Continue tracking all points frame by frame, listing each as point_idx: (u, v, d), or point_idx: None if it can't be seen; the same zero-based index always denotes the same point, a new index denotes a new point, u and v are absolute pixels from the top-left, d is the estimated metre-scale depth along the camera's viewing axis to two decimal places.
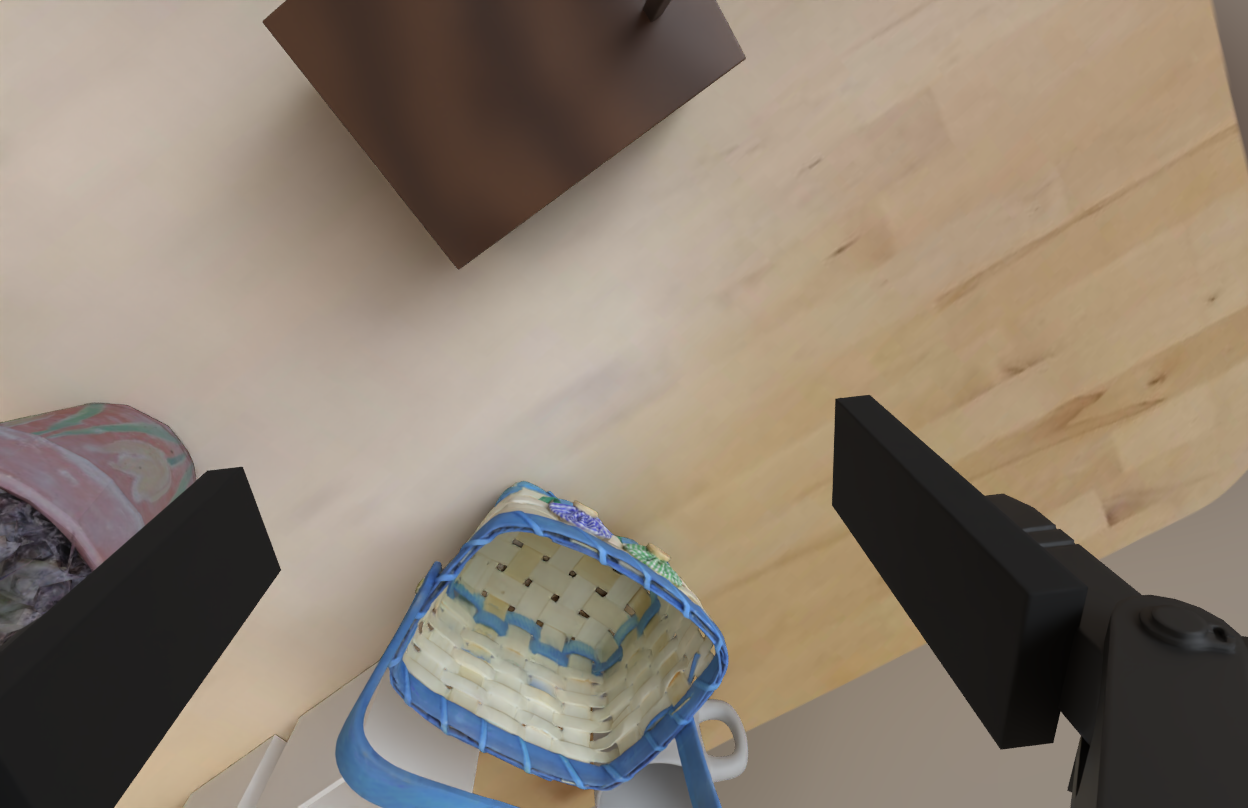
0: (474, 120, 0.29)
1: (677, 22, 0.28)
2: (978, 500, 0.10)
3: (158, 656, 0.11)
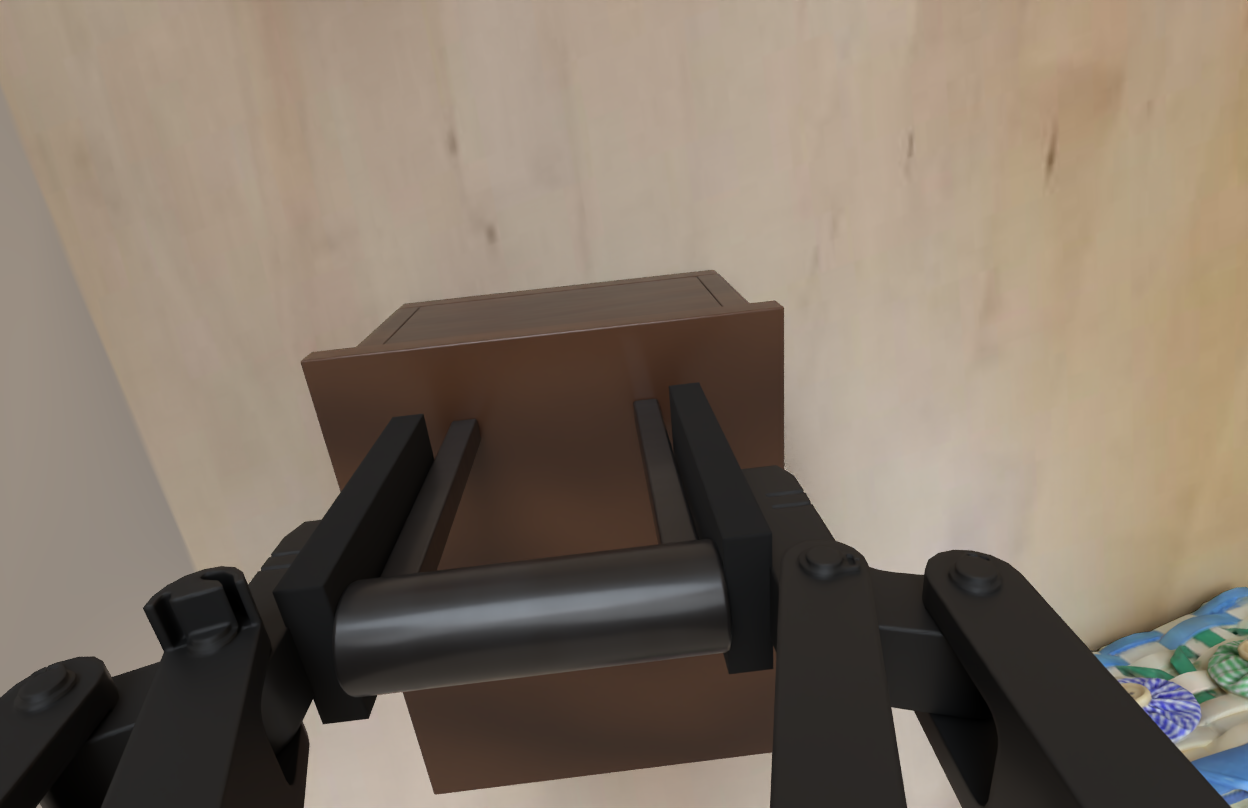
0: (642, 664, 0.21)
1: (679, 384, 0.18)
2: (731, 468, 0.11)
3: None
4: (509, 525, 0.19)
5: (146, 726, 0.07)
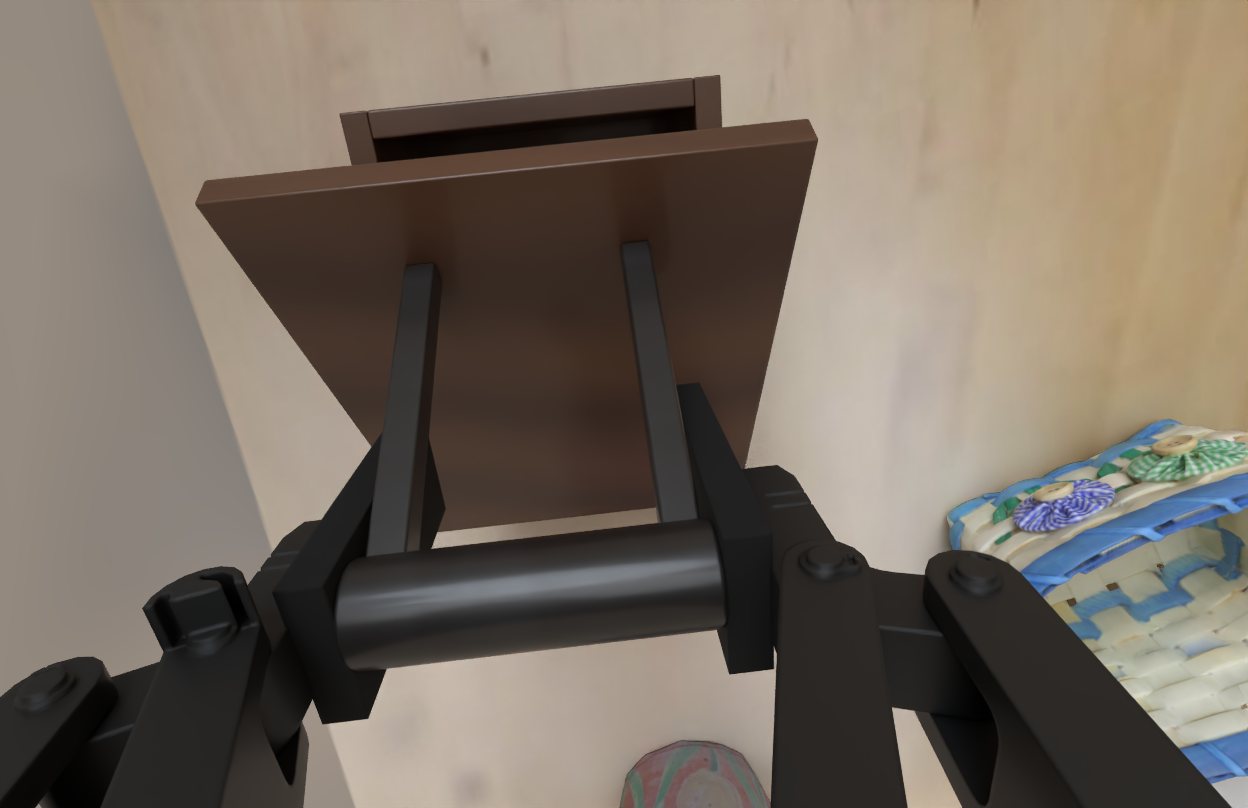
0: (618, 451, 0.23)
1: (676, 225, 0.15)
2: (731, 467, 0.11)
3: None
4: (482, 356, 0.18)
5: (146, 726, 0.07)
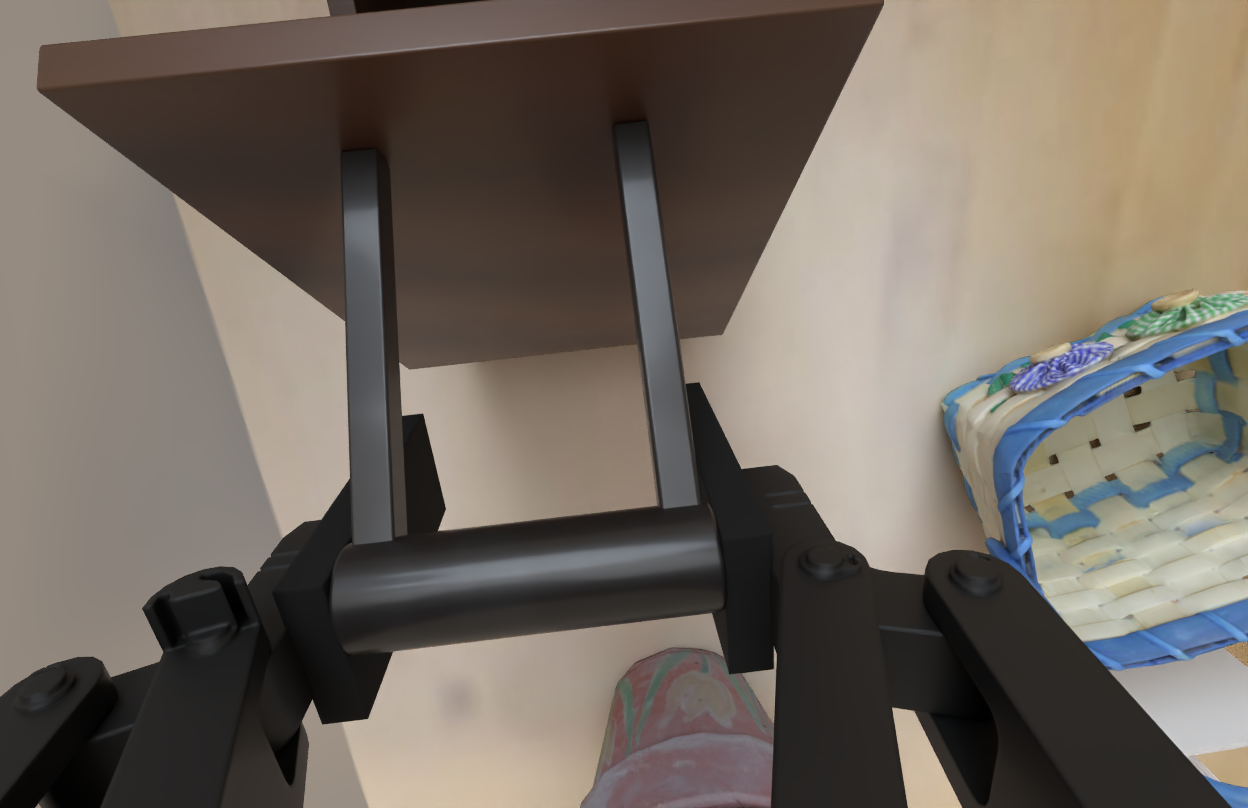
0: (601, 305, 0.21)
1: (684, 103, 0.11)
2: (731, 467, 0.11)
3: None
4: (447, 234, 0.15)
5: (145, 726, 0.07)
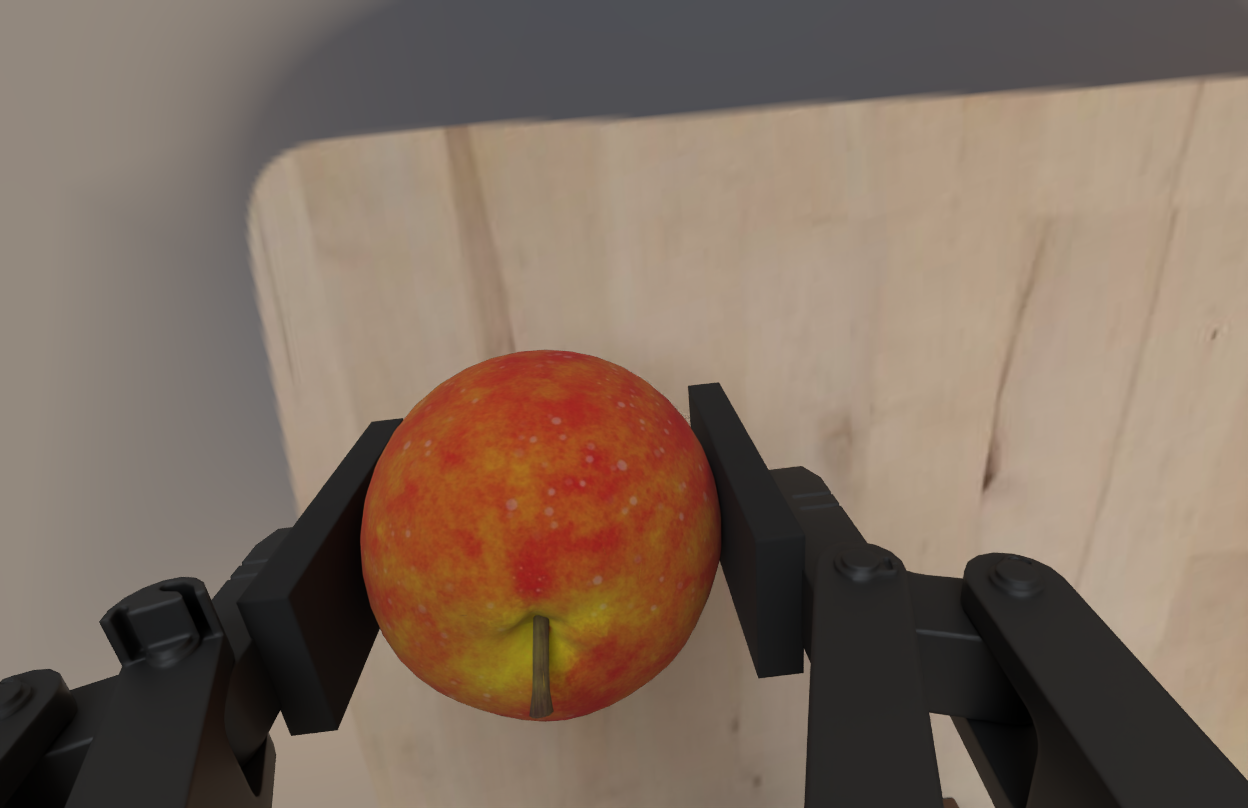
0: None
1: None
2: (758, 468, 0.11)
3: None
4: None
5: (104, 741, 0.07)
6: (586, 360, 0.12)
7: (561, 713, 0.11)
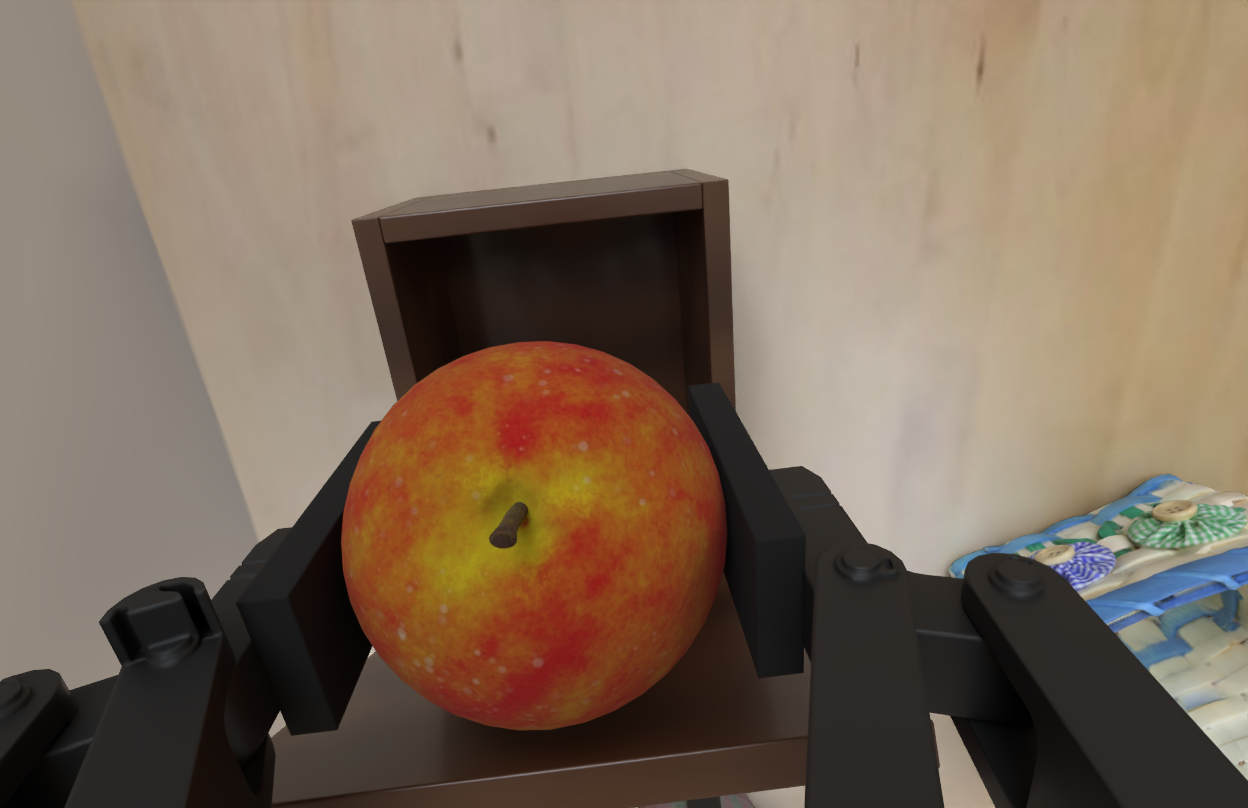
0: None
1: None
2: (758, 469, 0.11)
3: None
4: None
5: (104, 742, 0.07)
6: None
7: (527, 647, 0.09)
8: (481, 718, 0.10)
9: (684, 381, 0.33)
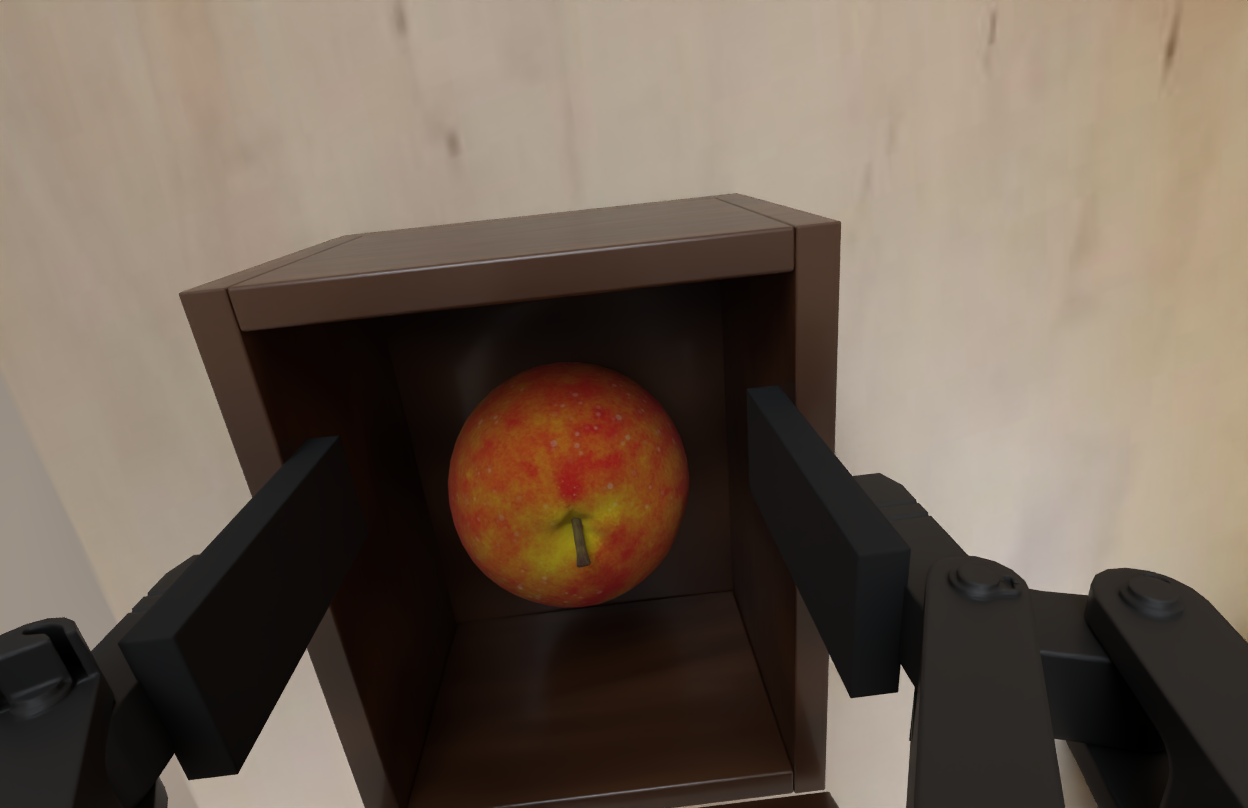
0: None
1: None
2: (842, 476, 0.11)
3: (288, 598, 0.12)
4: None
5: None
6: (588, 364, 0.18)
7: (593, 588, 0.16)
8: None
9: (728, 487, 0.23)
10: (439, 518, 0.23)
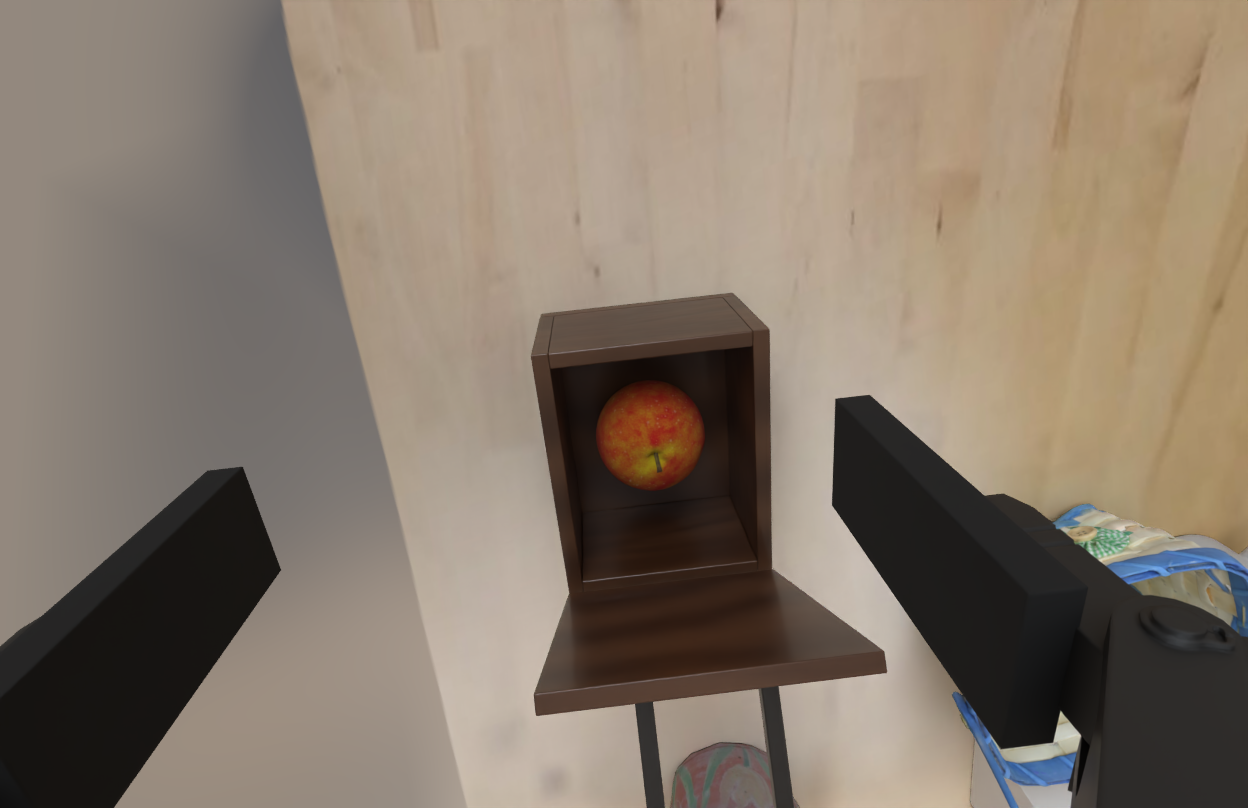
0: None
1: None
2: (978, 500, 0.10)
3: (159, 655, 0.11)
4: None
5: None
6: (660, 383, 0.40)
7: (661, 482, 0.39)
8: None
9: (727, 438, 0.45)
10: (578, 454, 0.45)
